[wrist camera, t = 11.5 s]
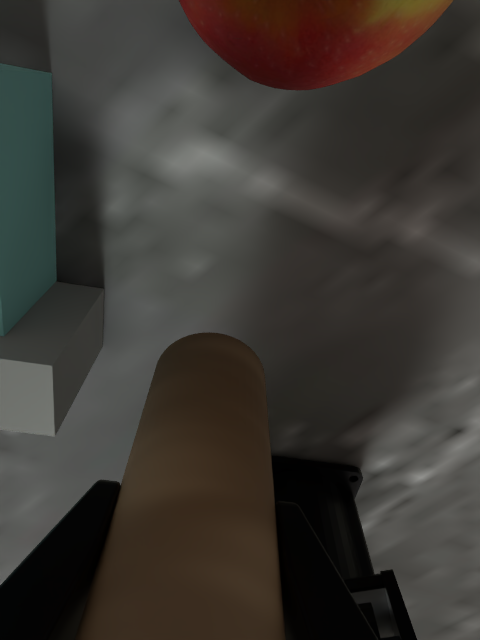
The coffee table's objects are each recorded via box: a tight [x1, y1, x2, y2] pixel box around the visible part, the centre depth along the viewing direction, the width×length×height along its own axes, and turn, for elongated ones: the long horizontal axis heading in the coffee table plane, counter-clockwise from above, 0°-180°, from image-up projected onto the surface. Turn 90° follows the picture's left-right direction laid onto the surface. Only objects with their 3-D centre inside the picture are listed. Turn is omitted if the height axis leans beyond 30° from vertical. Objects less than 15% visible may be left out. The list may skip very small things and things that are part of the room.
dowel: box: [75, 333, 286, 640], centre depth 8 cm, size 3×3×10 cm
